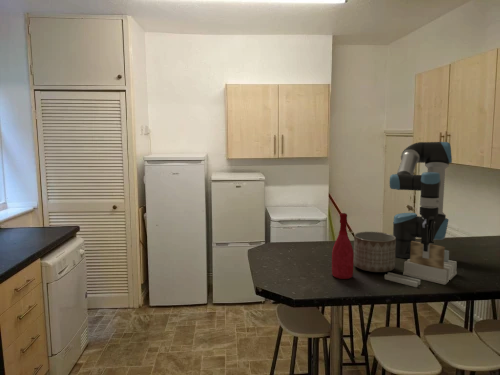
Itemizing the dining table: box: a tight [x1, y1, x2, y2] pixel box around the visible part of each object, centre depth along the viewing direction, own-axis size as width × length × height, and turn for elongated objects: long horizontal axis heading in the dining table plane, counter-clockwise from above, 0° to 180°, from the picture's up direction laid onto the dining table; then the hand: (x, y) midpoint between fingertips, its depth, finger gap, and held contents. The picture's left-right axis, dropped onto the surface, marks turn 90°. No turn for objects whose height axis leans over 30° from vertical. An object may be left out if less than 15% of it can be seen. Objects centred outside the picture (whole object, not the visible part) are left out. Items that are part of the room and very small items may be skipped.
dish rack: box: [402, 249, 458, 285], centre depth 166 cm, size 18×18×11 cm
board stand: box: [384, 271, 421, 288], centre depth 158 cm, size 14×5×2 cm, turn 46°
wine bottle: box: [331, 212, 354, 280], centre depth 164 cm, size 10×10×30 cm
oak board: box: [409, 241, 446, 269], centre depth 161 cm, size 14×2×12 cm, turn 46°
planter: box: [353, 231, 396, 273], centre depth 175 cm, size 19×19×16 cm
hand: (426, 257), depth 162 cm, fingers closed on oak board, 2 cm apart
